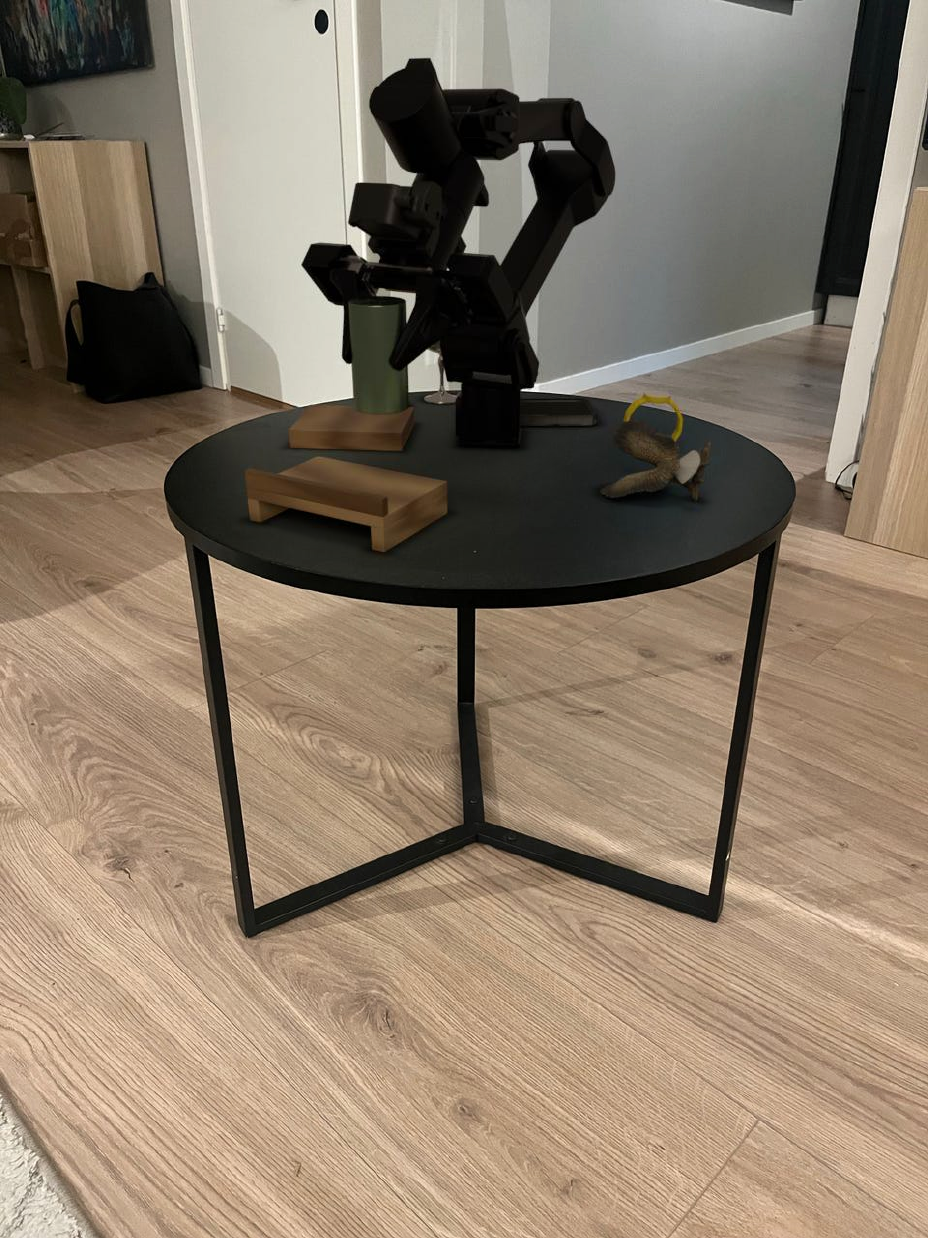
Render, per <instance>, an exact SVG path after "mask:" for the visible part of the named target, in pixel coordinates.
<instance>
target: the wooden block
mask: <svg viewBox="0 0 928 1238" xmlns="http://www.w3.org/2000/svg"><path fill="white" fill-rule="evenodd" d="M414 425H415V407H414V406H411V407H410V406H409V407H408V409H407V410H405V411H402V412H399V413H394V414H385V415H374V414H366V413H361V412H359V411H357V410H355V408H354V405H336V404H335V405H333V404H331V405H330V404H329V405H328V404H326V405H325V404H309V405H308V406H307V407H306V409H305V410H303V412H302V413H301V414H300V416H299V417H298V418H297V419H296V420H295V421H294V422H293V424H292V425H291V426H290V427H289V428H288V441H289V449H313V450H314V449H315V450H316V449H318V450H349V451H351V450H352V451H384V452H385V451H387V452H389V451H390V452H403V450H404V448H405V445H406V443H407V441H408V439H409V437H410V435H411V433H412V430H413V429H414Z"/></svg>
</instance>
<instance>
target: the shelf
mask: <svg viewBox="0 0 928 1238" xmlns="http://www.w3.org/2000/svg"><path fill="white" fill-rule="evenodd" d="M244 478H245V486H246V495H247V504H248V506H247V507H248V514H249V520H250V521H251V522H256V523H262V522H265V521H266V520H269V519H271V518H273V517H275V516H277V515H279V514H281V513H283V512H285V511H287V510H290V509H293V510H298V511H303V512H307V513H310V514H315V515H319V516H323V517H329V518H333V519H337V520H341V521H346V522H349V523H350V522H351V523H355V524H359V525H363V526H369V527H370V532H371V549H372V550H373V551H377V552H381V553H385V552H387V551H389V550H391V549H392V548H394V547H395V546H397V545H399V544H400V543H402V542H404V541H405V540H407V539H409V538H410V537H411V536H413V535H415V534H416V533H418V532H419V531H421V530H423V529H425V528H426V527H428V526H430V525H431V524H433V523H434V522H436V521H437V520H439V519H441V518H442V517H444V516H446V515H448V481H447V480H442V479H438V478H432V477H427V476H420V475H417V474H411V473H407V472H401V471H396V470H390V469H386V468H382V467H375V466H370V465H367V464H366V465H365V464H360V463H355V462H351V461H344V460H340V459H334V458H329V457H324V456H319V455H318V456H315V457H313V458H310V459H309V460H306V461H304V462H302V463H299V464H297V465H295V466H292V467H290V468H288V469H286V470H283V471H281V472H278V473H276V472H271V471H267V470H262V469H258V468H257V469H256V468H252V467H249V468H247V469H245V470H244Z"/></svg>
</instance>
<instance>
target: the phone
mask: <svg viewBox="0 0 928 1238" xmlns="http://www.w3.org/2000/svg"><path fill="white" fill-rule="evenodd" d="M597 419H598V412H597V410H596V409H595V407H594V405H593V404H592V402H591V400H590V399H587V398H582V397H581V398H578V397H577V398H575V397H574V398H569V397H568V398H567V397H566V398H521V409H520V427H524V426H525V427H531V426H533V427H535V426H536V427H538V426H539V427H543V426H544V427H546V426H547V427H553V426H556V427H557V426H560V427H561V426H594V425H596V424H597Z"/></svg>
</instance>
